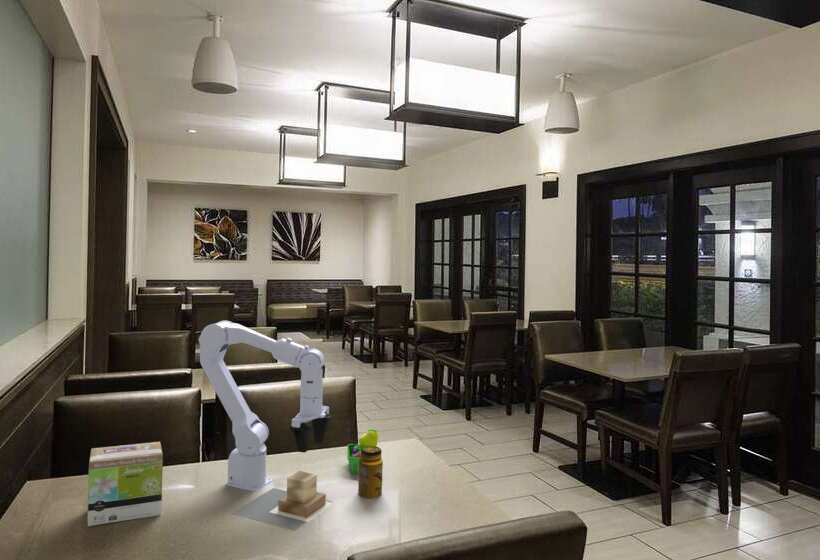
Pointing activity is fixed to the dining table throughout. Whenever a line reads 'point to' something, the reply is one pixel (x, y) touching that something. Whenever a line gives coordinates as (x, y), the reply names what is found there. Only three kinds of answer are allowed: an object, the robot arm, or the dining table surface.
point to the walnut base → (302, 505)
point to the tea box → (125, 483)
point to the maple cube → (301, 486)
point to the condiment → (370, 472)
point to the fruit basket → (355, 449)
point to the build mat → (275, 511)
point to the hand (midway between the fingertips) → (310, 447)
